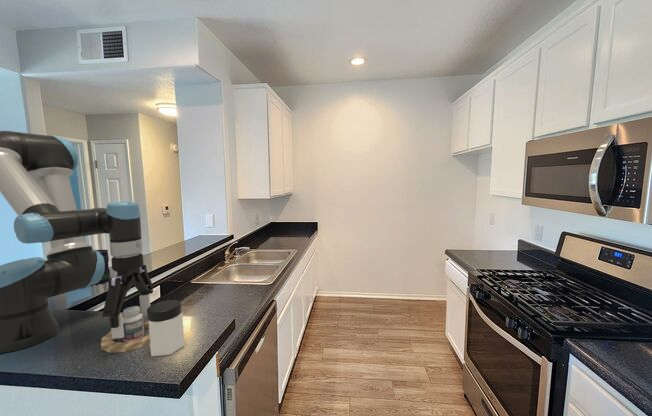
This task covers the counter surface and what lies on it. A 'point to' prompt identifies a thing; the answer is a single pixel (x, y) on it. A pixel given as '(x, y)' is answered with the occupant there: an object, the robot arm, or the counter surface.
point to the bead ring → (123, 343)
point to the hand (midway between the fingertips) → (133, 325)
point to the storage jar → (106, 271)
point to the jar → (165, 327)
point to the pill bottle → (132, 324)
